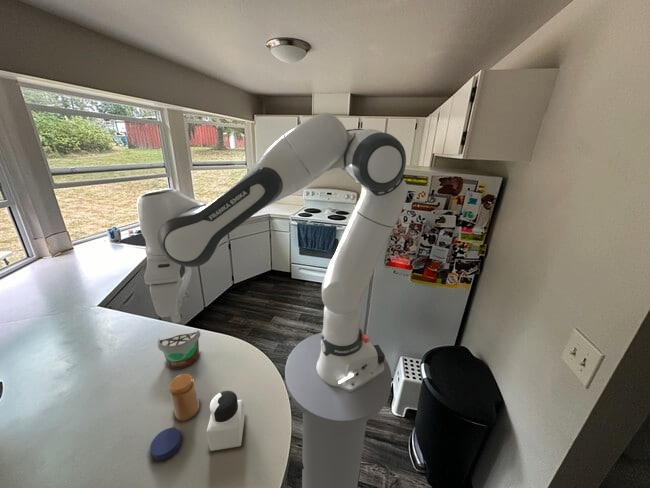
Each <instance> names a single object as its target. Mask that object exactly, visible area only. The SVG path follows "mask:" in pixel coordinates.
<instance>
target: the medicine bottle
mask: <svg viewBox="0 0 650 488" xmlns="http://www.w3.org/2000/svg"><path fill="white" fill-rule="evenodd" d="M209 410H210V416H209V420H208V424H207V429H206V437H207V441H208V446H209V450H210V451H211V452H213V451H219V450H227V449H232V448H237V447H241V446H242V441H243V435H244V434H243V433H244V426H245V409H244V401H243V399H238V395H237V394H236V393H235V391H232V390H223V391H220V392H219V393H217V394H216V395H215V396H213V398H212V399H211V401H210V404H209Z"/></svg>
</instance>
